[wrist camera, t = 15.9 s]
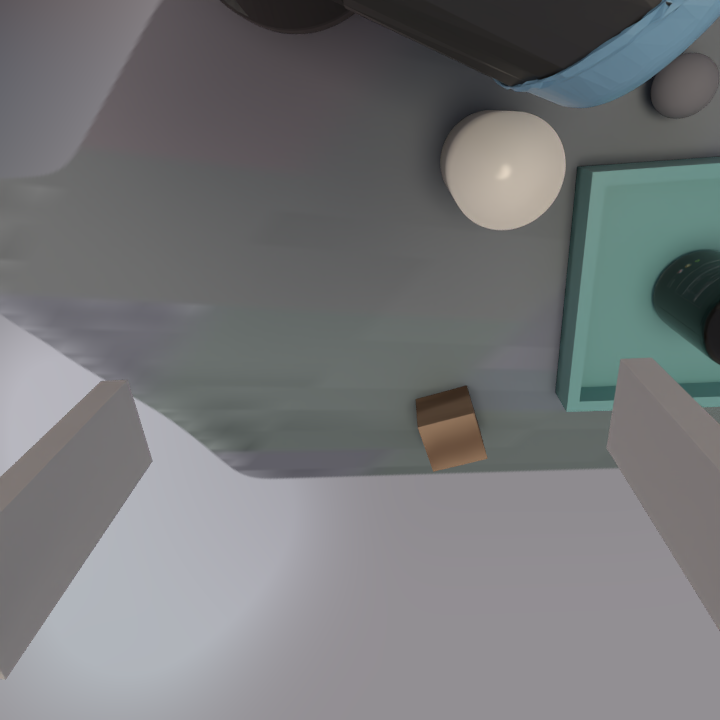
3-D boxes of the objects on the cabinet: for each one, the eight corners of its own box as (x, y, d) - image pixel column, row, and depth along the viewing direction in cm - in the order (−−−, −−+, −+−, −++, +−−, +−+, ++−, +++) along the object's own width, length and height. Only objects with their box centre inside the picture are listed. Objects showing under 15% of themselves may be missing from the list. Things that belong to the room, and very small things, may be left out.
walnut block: (415, 398, 51) (417, 427, 46) (466, 385, 50) (473, 413, 45) (430, 440, 53) (433, 471, 48) (479, 427, 52) (487, 458, 47)
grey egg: (645, 58, 37) (672, 53, 34) (705, 52, 37) (738, 47, 33) (637, 119, 39) (661, 121, 35) (693, 115, 39) (724, 116, 35)
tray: (577, 166, 41) (592, 172, 37) (855, 146, 39) (896, 150, 36) (555, 392, 49) (566, 411, 46) (782, 383, 48) (809, 403, 44)
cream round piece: (438, 116, 40) (448, 119, 32) (533, 104, 39) (568, 104, 31) (442, 210, 43) (452, 235, 35) (530, 201, 42) (562, 224, 34)
